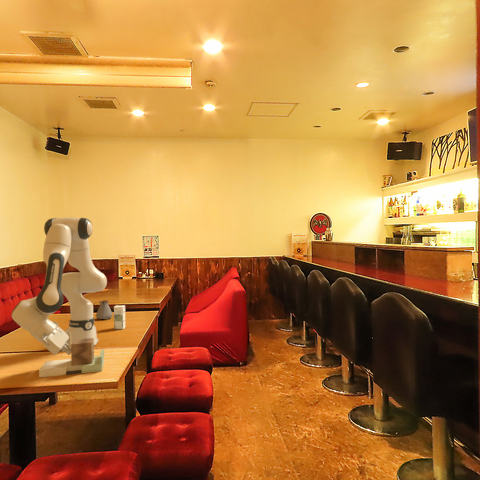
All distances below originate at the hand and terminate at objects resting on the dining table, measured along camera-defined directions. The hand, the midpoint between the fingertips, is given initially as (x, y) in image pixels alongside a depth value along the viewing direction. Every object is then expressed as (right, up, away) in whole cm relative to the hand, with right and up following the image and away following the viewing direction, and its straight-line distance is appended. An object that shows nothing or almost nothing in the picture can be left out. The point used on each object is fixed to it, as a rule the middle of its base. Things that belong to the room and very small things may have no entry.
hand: (71, 352), depth 159 cm
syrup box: (-4, -8, +75) cm, 76 cm away
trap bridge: (+1, -7, 0) cm, 7 cm away
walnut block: (+5, -4, +1) cm, 6 cm away
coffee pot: (-23, -8, +102) cm, 104 cm away
